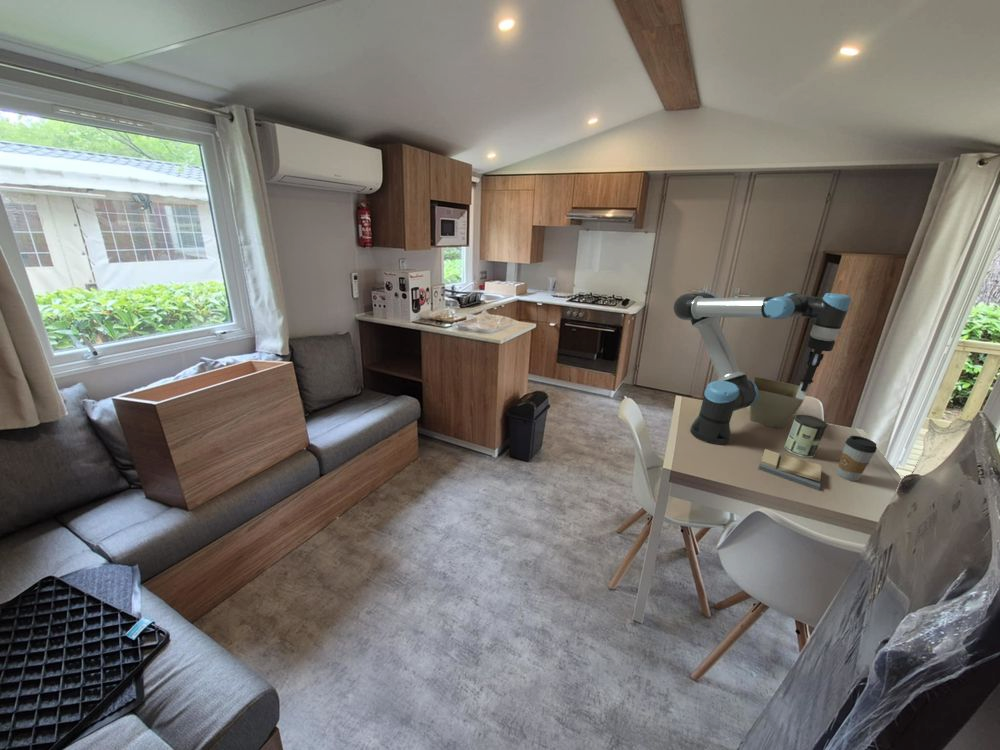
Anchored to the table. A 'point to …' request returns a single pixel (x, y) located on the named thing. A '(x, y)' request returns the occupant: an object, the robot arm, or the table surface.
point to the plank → (800, 467)
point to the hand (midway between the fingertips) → (800, 398)
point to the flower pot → (774, 402)
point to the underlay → (771, 465)
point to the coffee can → (805, 435)
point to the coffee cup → (855, 457)
